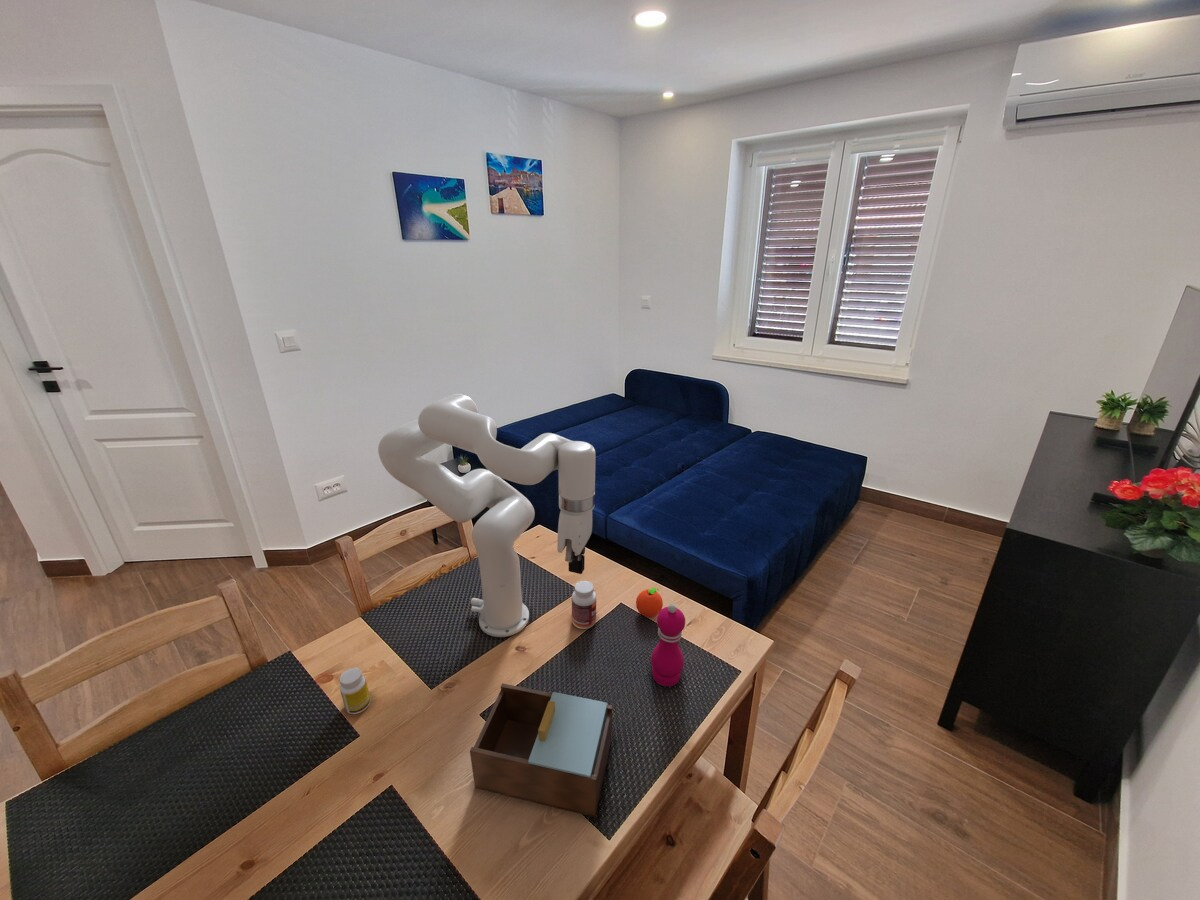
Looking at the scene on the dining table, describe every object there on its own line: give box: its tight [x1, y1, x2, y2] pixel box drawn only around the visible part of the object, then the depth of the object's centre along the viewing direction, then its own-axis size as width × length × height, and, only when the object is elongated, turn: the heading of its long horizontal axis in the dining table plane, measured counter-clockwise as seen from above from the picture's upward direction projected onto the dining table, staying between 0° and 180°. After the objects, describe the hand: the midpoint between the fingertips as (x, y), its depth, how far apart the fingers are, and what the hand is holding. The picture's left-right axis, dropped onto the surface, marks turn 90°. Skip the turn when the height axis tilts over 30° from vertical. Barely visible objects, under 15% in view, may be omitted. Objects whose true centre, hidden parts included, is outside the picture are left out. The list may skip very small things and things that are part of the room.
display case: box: [469, 682, 613, 818], centre depth 88 cm, size 22×14×10 cm, turn 78°
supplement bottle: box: [339, 667, 371, 715], centre depth 99 cm, size 5×5×8 cm
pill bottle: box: [571, 580, 597, 630], centre depth 121 cm, size 6×6×11 cm
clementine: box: [635, 587, 664, 618], centre depth 126 cm, size 8×7×7 cm
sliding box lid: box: [528, 691, 608, 778], centre depth 85 cm, size 11×14×3 cm
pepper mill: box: [650, 603, 686, 687], centre depth 105 cm, size 7×7×20 cm
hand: (576, 570), depth 109 cm, fingers closed
